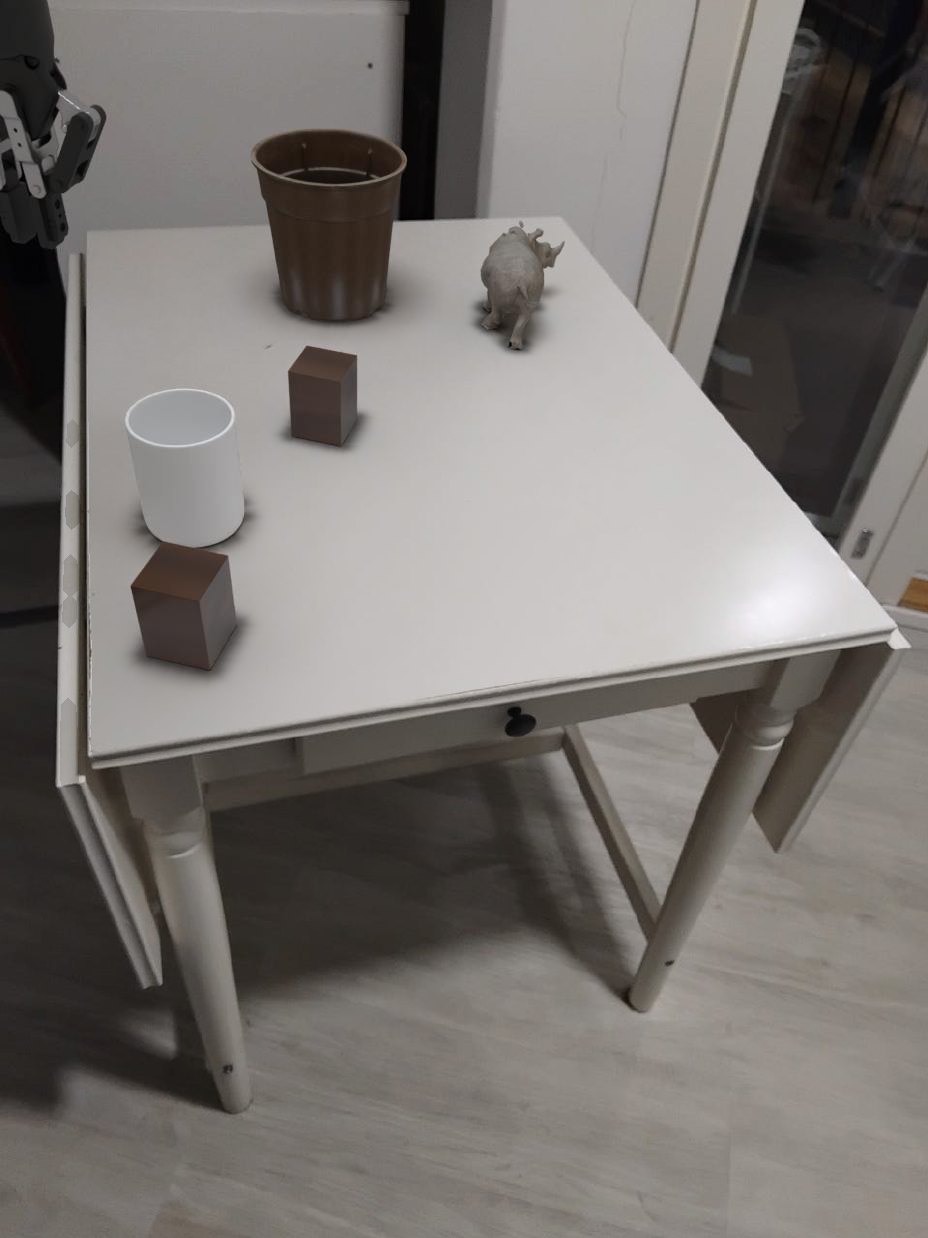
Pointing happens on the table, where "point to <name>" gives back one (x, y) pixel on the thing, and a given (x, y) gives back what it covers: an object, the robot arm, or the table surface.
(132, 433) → the cup
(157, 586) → the block near
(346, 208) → the plant pot
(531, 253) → the rhinoceros figurine
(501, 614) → the table surface
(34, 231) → the robot arm
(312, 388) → the block far
